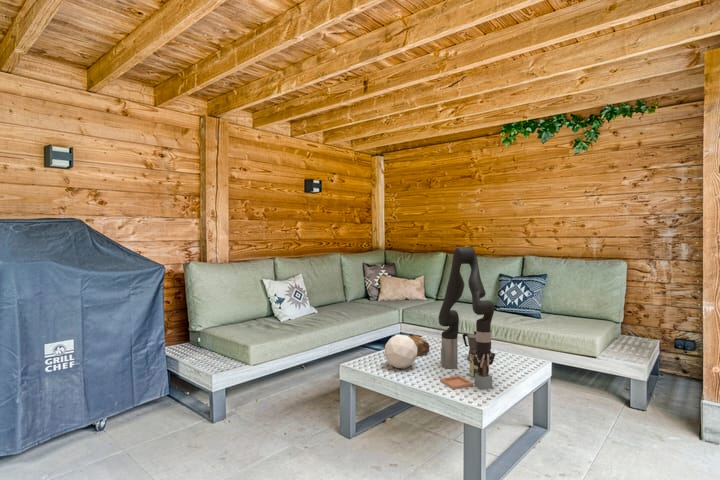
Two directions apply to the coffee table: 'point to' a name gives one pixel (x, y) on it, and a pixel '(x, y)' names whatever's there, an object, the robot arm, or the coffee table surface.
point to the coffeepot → (470, 341)
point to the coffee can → (472, 367)
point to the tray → (456, 382)
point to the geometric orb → (401, 351)
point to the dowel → (484, 368)
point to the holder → (483, 381)
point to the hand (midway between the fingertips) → (483, 373)
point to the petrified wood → (420, 345)
